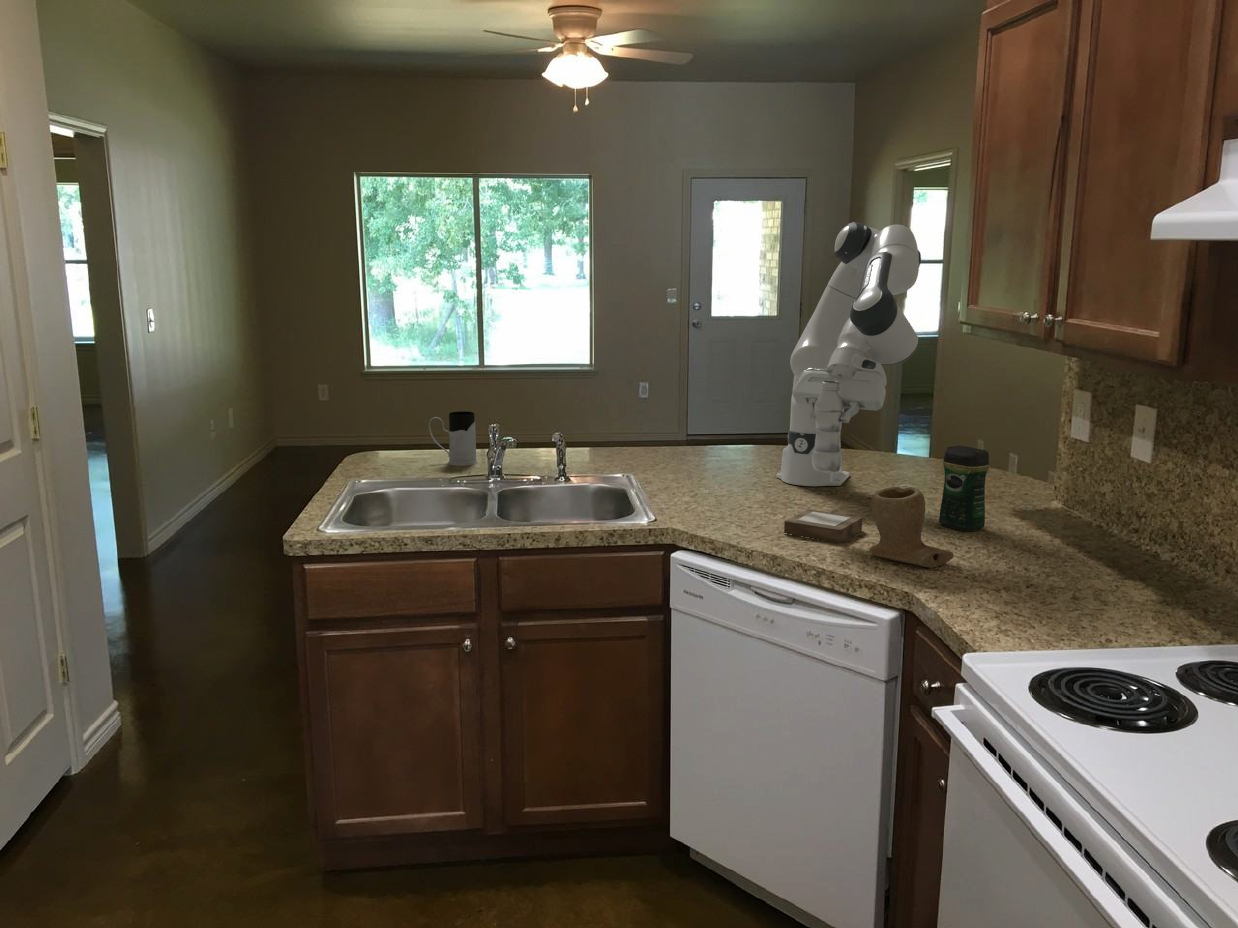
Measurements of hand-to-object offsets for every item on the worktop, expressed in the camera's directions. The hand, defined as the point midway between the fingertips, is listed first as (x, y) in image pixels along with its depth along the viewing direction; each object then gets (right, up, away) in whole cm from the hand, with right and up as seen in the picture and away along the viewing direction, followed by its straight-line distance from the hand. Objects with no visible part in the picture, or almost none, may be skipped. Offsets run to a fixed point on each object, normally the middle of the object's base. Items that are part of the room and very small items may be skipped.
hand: (828, 419), depth 212 cm
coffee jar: (+33, -24, +11) cm, 42 cm away
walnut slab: (0, -25, +6) cm, 26 cm away
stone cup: (+12, -30, -15) cm, 35 cm away
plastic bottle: (0, -12, +3) cm, 12 cm away
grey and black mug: (-95, -9, +79) cm, 124 cm away
